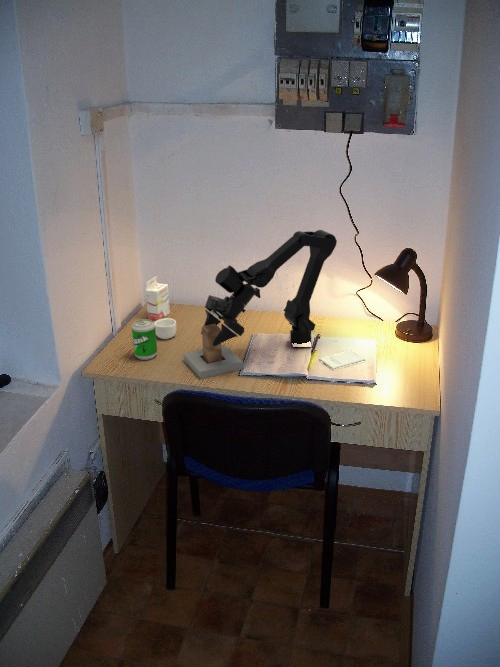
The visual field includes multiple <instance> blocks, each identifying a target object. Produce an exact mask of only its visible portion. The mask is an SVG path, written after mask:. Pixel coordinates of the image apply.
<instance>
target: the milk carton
mask: <svg viewBox="0 0 500 667" xmlns="http://www.w3.org/2000/svg"><path fill="white" fill-rule="evenodd" d="M169 295H170V294H169V284H166V283H159V282H158V275H156V276H154V277H152V278H151V279H149V280H148V281H146V282H145V296H146V307H147V308H146V309H147V318H148V320H151V321H157V320H159V319H164V318H165V317H166V316H168V315H169V314H170V312H171V311H170V296H169ZM167 314H168V315H167ZM163 317H164V318H163Z"/></svg>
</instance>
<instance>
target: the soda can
mask: <svg viewBox="0 0 500 667" xmlns="http://www.w3.org/2000/svg"><path fill="white" fill-rule="evenodd" d="M131 333H132V334H131V335H132V336H131V337H132V345H133V354H134V356H135V357H136V358H137V359H139V360H141V361H147V360H152V359H154V358H155V357H156V355H158V344H157V342H158V341H157V335H156V330H155V324H154V322H153V320H151V319H147V318H145V319H144V318H143V319H138V320H135V321H134V322H133V324H131Z"/></svg>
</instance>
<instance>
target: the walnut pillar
mask: <svg viewBox="0 0 500 667" xmlns="http://www.w3.org/2000/svg"><path fill="white" fill-rule="evenodd" d="M220 331H221V328H220V326H218V325H216V324H211V325H206V326H204V325H201V332H202V334H201V336H202V338H201V339H202V349H203V359H204V361H205V362H206V363H207V364H209V363H213V362H218V361H222V349H221V345H222V343H220V344H218V345H216V346H214V345H212V344H213V342H214V340H215V339H216V337H217V335H218V334H219V332H220Z"/></svg>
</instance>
